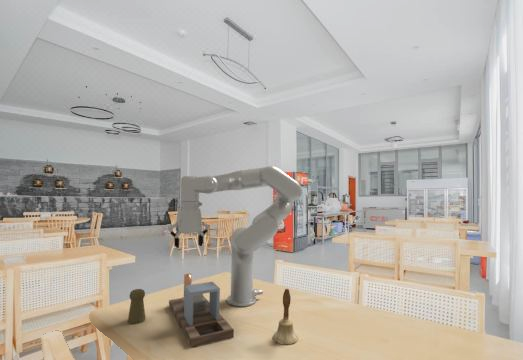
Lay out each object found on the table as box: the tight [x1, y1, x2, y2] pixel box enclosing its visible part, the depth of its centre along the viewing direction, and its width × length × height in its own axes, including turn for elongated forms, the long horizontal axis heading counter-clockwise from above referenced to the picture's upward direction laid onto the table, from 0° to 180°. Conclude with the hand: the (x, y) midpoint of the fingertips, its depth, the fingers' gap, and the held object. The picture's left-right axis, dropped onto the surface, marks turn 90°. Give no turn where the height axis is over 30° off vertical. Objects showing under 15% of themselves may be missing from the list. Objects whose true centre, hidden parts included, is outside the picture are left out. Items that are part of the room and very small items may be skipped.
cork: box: [127, 288, 146, 325], centre depth 108 cm, size 6×6×11 cm
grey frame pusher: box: [181, 273, 206, 311], centre depth 117 cm, size 15×7×10 cm, turn 28°
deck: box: [168, 295, 235, 348], centre depth 109 cm, size 35×14×2 cm, turn 28°
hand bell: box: [272, 288, 299, 345], centre depth 97 cm, size 8×8×16 cm
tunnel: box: [183, 281, 221, 326], centre depth 105 cm, size 8×10×11 cm
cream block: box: [193, 294, 204, 311], centre depth 113 cm, size 5×5×6 cm
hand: (188, 246), depth 123 cm, fingers open, 9 cm apart
